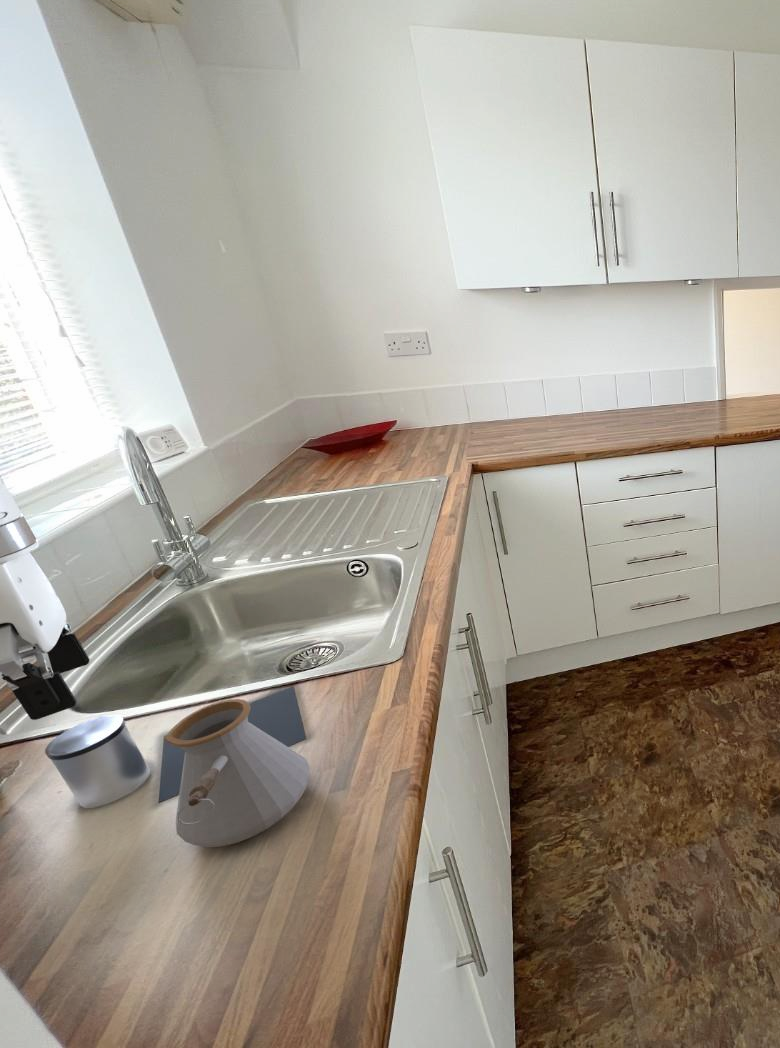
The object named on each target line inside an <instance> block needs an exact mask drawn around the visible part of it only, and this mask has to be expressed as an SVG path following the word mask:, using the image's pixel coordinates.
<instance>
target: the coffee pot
mask: <svg viewBox="0 0 780 1048" xmlns="http://www.w3.org/2000/svg"><path fill="white" fill-rule="evenodd" d="M249 703H250V702H248V701H246V700H245V699H240V698H234V699H232V698H231V699H225V700H220V701H218V702H213V703H211V704H209V705H206V706H204V707H203V706H202V708H199V709H197V710H195V711H193V712H192V713H190V714H188V715H187V716H185V717H184V718H182V719H181V720H180V721H178V723H176V724H175V725H174V726H173V727H172V728H171V729H170V730H169V731H168V732H167V734H165V735H166V736H165V735H164V736H165V737H164V736H163V740H164V739H165V740H166V741H167V742H168V743H170V744H172V745H174V746H178V747H181V748H182V749H184V750H185V757H184V764H183V771H182V779H181V786H180V793H179V795H178V801H177V807H176V814H175V815H176V816H175V822H174V823H175V829H176V834H177V836H178V837H180V839H181V840H182V841H184V842H185V843H188V844H191V845H193V846H197V847H200V848H216V847H217V848H219V847H226V846H230V845H234V844H238V843H240V842H243V841H246V840H248V839H251V838H253V837H255V836H257V835H258V834H260V833H262V832H264V831H266V830H267V829H269V828H270V827H272V826H273V825H275V824H276V823H277V822H279V821H281V820H282V819H283V818H284V817H285V816H286V815H287V814H288V813H289V812H290V811H292V809H293V808H294V807H295V805H296V804H297V803H298V802H299V800H300V798H301V797H302V796H303V795H304V793H305V790H306V789H307V786H308V783H309V779H310V770H311V769H310V767H311V766H310V764H309V762H308V760H307V758H306V757H304V756H303V755H301V754H300V753H298V752H297V751H295V750H294V749H292V748H290V746H289V747H287V746H286V745H284V744H282V743H281V742H279V741H278V740H276V739H275V738H273V737H271V736H270V735H268V734H267V733H265V732H263V731H262V730H260V729H259V728H257V727H256V726H254V725H252V724H251V723H249V722H248V714H249V712H250V704H249Z"/></svg>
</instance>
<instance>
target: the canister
mask: <svg viewBox="0 0 780 1048" xmlns="http://www.w3.org/2000/svg"><path fill="white" fill-rule="evenodd" d="M44 754H45V755H46V757H47V758H48V759H49V760H51V762H52V763H53V765H54V766H55V768H56V770H57V771H58V773H59V774H60V776H61V777H62V779H63V781H64V782H65V784H66V785H67V787H68V788H69V791H70V792H71V794H72V795H73V796H74V798H75V799H76V801H77V803H78V805H79V806H80V807H82V808H84V809H93V808H94V809H95V808H100V807H103V806H106V805H109V804H111V803H114V802H116V801H118V800H120V799H122V798H124V797H126V796H128V795H130V794H131V793H133V792H134V791H136V790H137V789H138V788H140V787H141V786H142V785H143V784H144V783H145V782H146V781H147V780H148V778H149V777H150V775H151V768H150V766H149V764H148V763H147V761H146V759H145V758H144V756H143V753H142V752H141V750H140V748H139V747H138V745H137V744H136V742H135V739H134V737H133V736H132V735H131V732H130V731H129V729H128V727H127V725H126V721H125V719H124V718H123V716H121V715H117V714H110V715H102V716H99V717H95V718H92V719H88V720H87V721H84V722H81V723H79V724H77V725H75V726H73V727H71V728H69V729H67V730H65V731H64V732H62V733H60V734H58V735H57V736H56V737H55V738H53V739H52V740H51V741H50V742H49V743H48V744H47V746H46V747H45V749H44Z"/></svg>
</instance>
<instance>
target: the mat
mask: <svg viewBox="0 0 780 1048" xmlns="http://www.w3.org/2000/svg"><path fill="white" fill-rule="evenodd" d="M248 703H249V704H250V712H249V714H248V722H249V723H251V724H252V725H254V726H256V727H257V728H259V729H260V730H262V731H263V732H265V733H267V734H268V735H270V736H271V737H273V738H275V739H276V740H278V741H279V742H281V743H282V744H284V745H286V746H287V747H289V748H290V747H292V746H294V745H296V744H298V743H300V742H303V741H305V740H307V735H306V731H305V728H304V723H303V719H302V715H301V710H300V707H299V704H298V699H297V694H296V691H295V687H294V685H292V686H289V687H286V688H284V689H282V690H278V691H276V692H274V693H272V694H268V695H266V696H264V697H261V698H259V699H256V700H253V701H251V702H248ZM166 735H167V734H165V735H164V736H163V743H162V755H161V756H162V757H161V769H160V778H159V790H158V791H159V793H158V794H159V795H158V804H161V803H163V802H165V801H168V800H170V799H172V798H174V797H177V796H179V793H180V786H181V779H182V771H183V764H184V757H185V750H184V749H182V748H181V747H178V746H174V745H172V744H170V743H168V742H167V741H166V740H165V739H164V737H165V736H166Z"/></svg>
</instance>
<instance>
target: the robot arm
mask: <svg viewBox="0 0 780 1048" xmlns="http://www.w3.org/2000/svg"><path fill="white" fill-rule="evenodd" d="M20 510H21V509H20V508H19V507H18V505H17V503H16V501H15V499H14V497H13V496H12V494H11V492H10V491H9V488H8V487H7V485H6V483H5V482H4V481H3V478H2V477H1V476H0V673H1V679H2V680H3V681H6V685H7V687H8V688H9V690H10V691H12V693H13V695H14V696H15V697H16V699H17V700H18V702H19V704H20V706H21V707H22V708H23V710H24V711H25V713H26V714H27V716H28V717H29V719H30V720H32V721H37V720H40V719H43V718H46V717H48V716H51V715H54V714H57V713H60V712H63V711H65V710H69V709H71V708H73V707H75V706H76V704H77V699H76V697H75V696H74V694H73V692H72V690H71V689H70V688H69V686H68V684H67V683H66V681H65V679H64V678H63V675H62V674H64V673H67V672H69V671H72V670H76V669H78V668H81V667H85V666H87V665H89V663H90V660H91V659H90V657H89V655H88V654H87V652H86V650H85V649H84V647H83V645H82V644H81V642H80V640H79V638H78V637H77V635H76V633H75V632H73V631H72V627H71V625H70V623H69V622H67V613H66V610H65V608H64V606H63V603H62V602H61V599H60V598H59V596H58V594H57V592H56V591H55V589H54V587H53V586H52V584H51V582H50V581H49V578H47V576H46V574H45V572H44V571H43V570H42V568H41V567H40V565H39V564H38V562H37V561H36V558H35V557H34V556H33V555H32V553H31V552H32V551H35V550H36V549H38V548H39V546H40V543H39V541H38V539H37V538H36V536H35V533H33V531H32V529H31V527H30V525H29V524H28V521H27V520H26V518H25V516H24V515H23V514H22V512H21V511H20ZM30 648H32V649H30ZM27 649H28V650H27ZM34 659H36V664H37V666H36V665H35V664H33V663H31V662H27V661H30V660H34ZM24 662H27V663H24Z"/></svg>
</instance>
